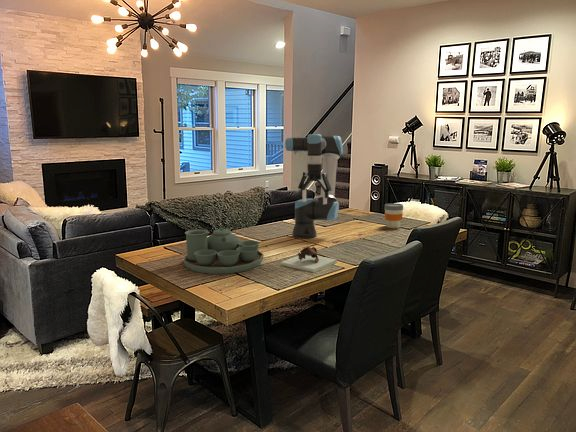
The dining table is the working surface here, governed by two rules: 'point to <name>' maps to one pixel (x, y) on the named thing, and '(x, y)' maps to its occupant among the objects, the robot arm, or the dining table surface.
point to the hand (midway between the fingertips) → (314, 202)
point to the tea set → (220, 252)
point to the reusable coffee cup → (393, 215)
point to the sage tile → (309, 263)
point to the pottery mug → (308, 253)
